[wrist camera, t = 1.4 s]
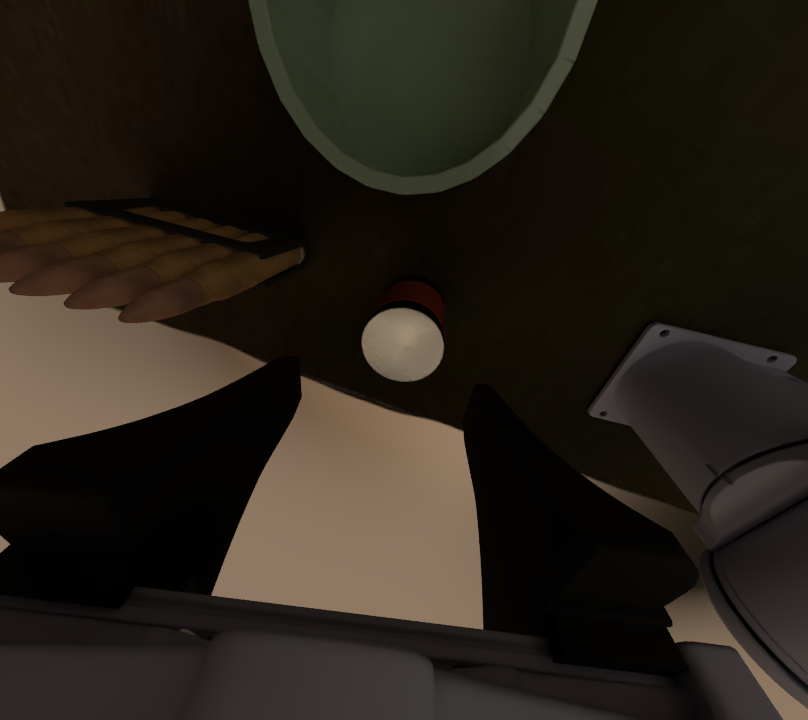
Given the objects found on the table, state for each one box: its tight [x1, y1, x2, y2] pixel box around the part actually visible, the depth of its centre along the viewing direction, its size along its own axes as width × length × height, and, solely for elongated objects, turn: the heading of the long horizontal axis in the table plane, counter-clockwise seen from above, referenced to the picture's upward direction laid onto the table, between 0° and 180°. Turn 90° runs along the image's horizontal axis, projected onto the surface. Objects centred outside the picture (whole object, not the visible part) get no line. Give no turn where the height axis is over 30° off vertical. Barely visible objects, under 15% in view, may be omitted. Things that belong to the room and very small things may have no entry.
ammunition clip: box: [0, 198, 308, 323], centre depth 14 cm, size 11×2×12 cm, turn 77°
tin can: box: [361, 276, 445, 382], centre depth 18 cm, size 4×4×6 cm
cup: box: [248, 0, 598, 195], centre depth 11 cm, size 10×10×6 cm
